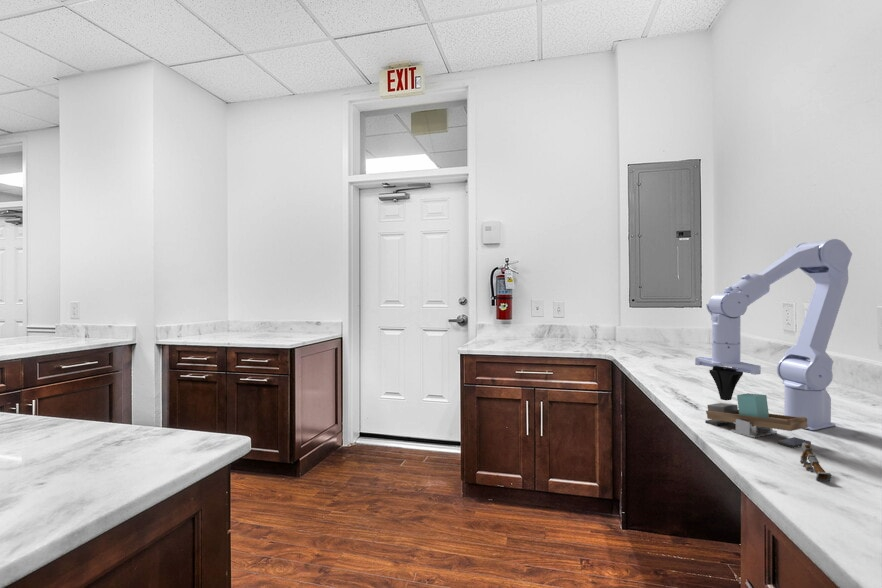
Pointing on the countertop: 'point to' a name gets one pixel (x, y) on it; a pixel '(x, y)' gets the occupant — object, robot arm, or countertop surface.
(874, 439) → the countertop surface
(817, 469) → the wooden post with brackets
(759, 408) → the block
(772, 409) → the countertop surface
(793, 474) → the countertop surface
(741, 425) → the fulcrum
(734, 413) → the beam
